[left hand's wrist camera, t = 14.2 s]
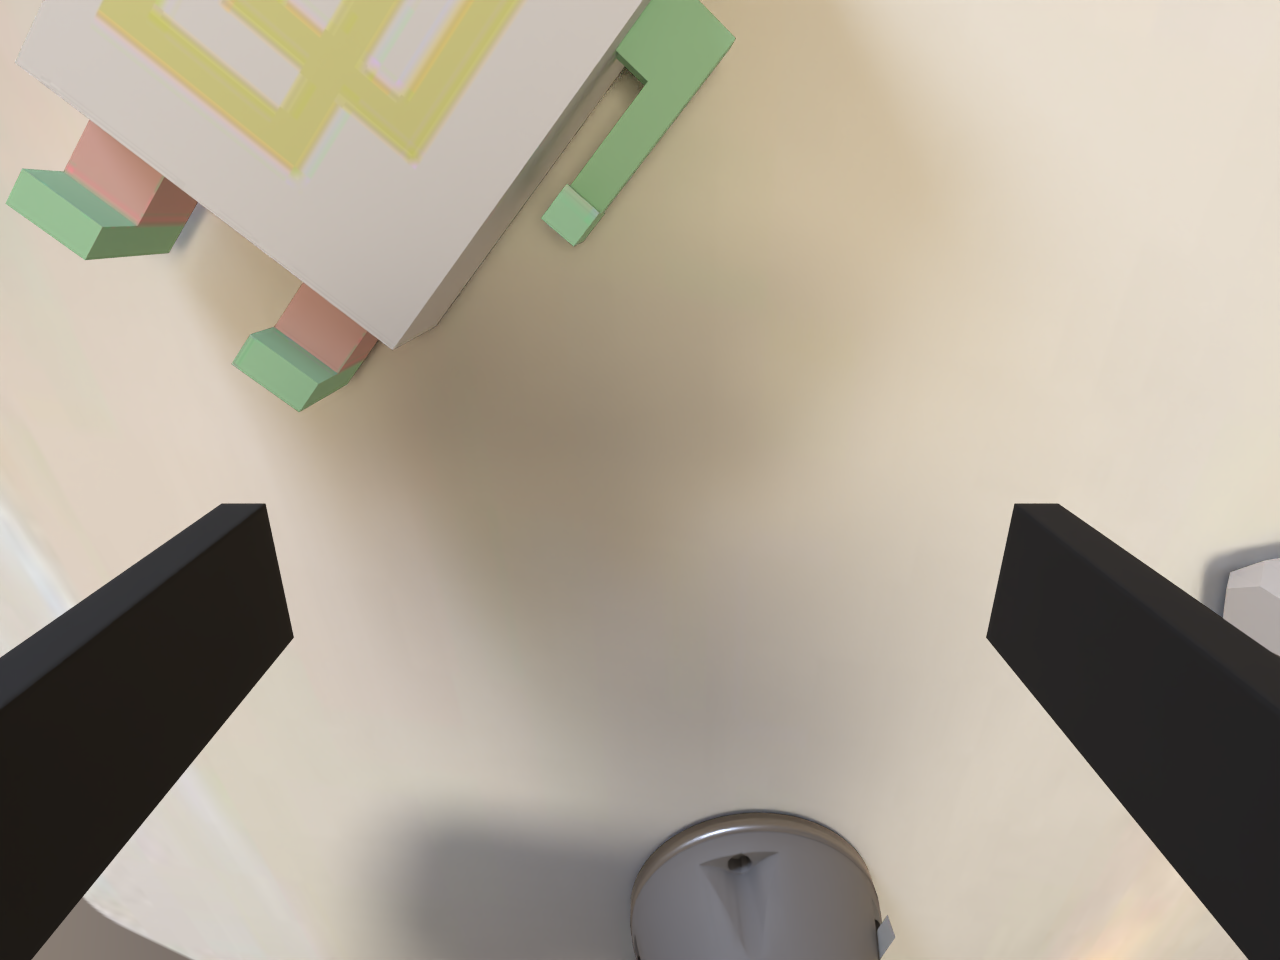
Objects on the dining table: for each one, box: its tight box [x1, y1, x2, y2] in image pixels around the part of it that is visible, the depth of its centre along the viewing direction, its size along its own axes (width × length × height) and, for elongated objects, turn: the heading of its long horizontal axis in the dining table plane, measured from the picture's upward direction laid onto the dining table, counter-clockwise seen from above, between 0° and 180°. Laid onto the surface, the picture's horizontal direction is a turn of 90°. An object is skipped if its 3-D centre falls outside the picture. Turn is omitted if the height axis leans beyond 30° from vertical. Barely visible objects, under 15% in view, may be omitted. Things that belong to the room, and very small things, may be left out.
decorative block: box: [6, 0, 736, 412], centre depth 24 cm, size 26×6×20 cm
